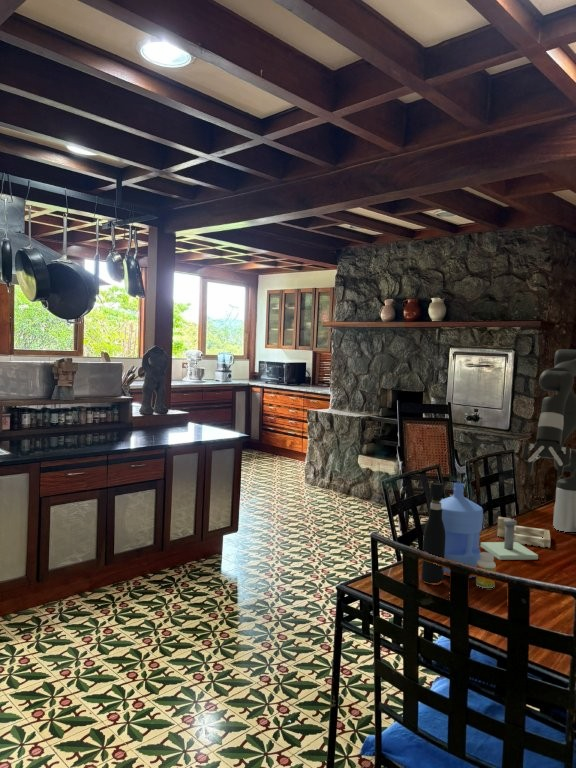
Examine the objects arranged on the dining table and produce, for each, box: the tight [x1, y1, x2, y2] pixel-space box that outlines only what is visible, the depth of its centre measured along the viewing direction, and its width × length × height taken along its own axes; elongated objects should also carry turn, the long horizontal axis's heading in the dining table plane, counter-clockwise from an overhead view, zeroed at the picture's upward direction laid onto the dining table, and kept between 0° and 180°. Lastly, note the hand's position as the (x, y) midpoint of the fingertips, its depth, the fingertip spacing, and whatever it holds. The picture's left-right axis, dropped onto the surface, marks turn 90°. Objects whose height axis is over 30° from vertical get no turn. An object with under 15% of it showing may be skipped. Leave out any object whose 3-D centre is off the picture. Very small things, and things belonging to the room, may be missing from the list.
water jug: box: [440, 482, 484, 579], centre depth 187 cm, size 16×16×28 cm
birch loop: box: [496, 516, 551, 549], centre depth 224 cm, size 18×14×7 cm
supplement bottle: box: [475, 551, 497, 589], centre depth 175 cm, size 5×5×10 cm
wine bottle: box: [420, 481, 445, 583], centre depth 177 cm, size 6×6×30 cm
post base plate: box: [480, 518, 539, 561], centre depth 207 cm, size 14×14×12 cm
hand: (544, 476), depth 190 cm, fingers open, 8 cm apart
